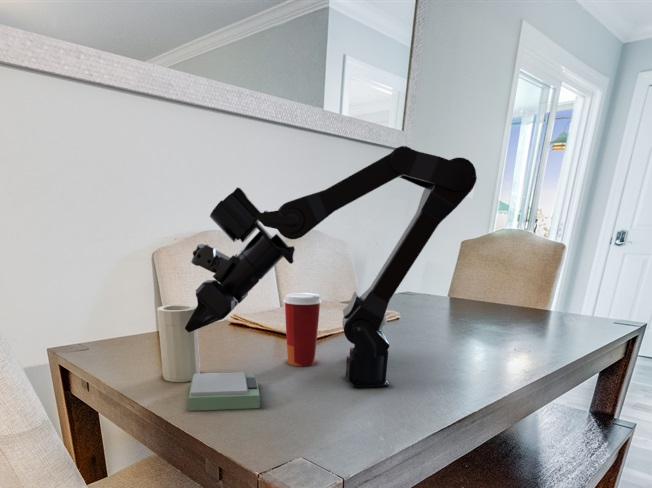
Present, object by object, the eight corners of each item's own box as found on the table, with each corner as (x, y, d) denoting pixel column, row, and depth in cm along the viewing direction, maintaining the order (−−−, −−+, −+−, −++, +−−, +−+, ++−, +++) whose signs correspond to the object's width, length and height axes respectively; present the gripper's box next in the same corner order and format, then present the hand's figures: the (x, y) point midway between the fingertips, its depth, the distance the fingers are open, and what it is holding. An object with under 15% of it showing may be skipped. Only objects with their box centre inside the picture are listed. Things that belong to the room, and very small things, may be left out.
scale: (255, 385, 83) (254, 370, 82) (259, 408, 73) (259, 391, 72) (193, 387, 82) (192, 372, 81) (189, 410, 72) (188, 394, 70)
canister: (200, 370, 91) (196, 304, 86) (199, 381, 85) (194, 310, 80) (165, 371, 90) (159, 304, 86) (161, 382, 84) (154, 311, 79)
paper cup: (325, 361, 98) (328, 294, 93) (308, 370, 92) (310, 298, 87) (294, 355, 102) (295, 291, 97) (275, 363, 96) (275, 295, 90)
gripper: (229, 226, 86) (176, 285, 91) (206, 227, 69) (141, 300, 73) (271, 271, 88) (216, 326, 93) (259, 282, 71) (192, 350, 76)
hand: (193, 324), depth 84 cm, fingers open, 9 cm apart
